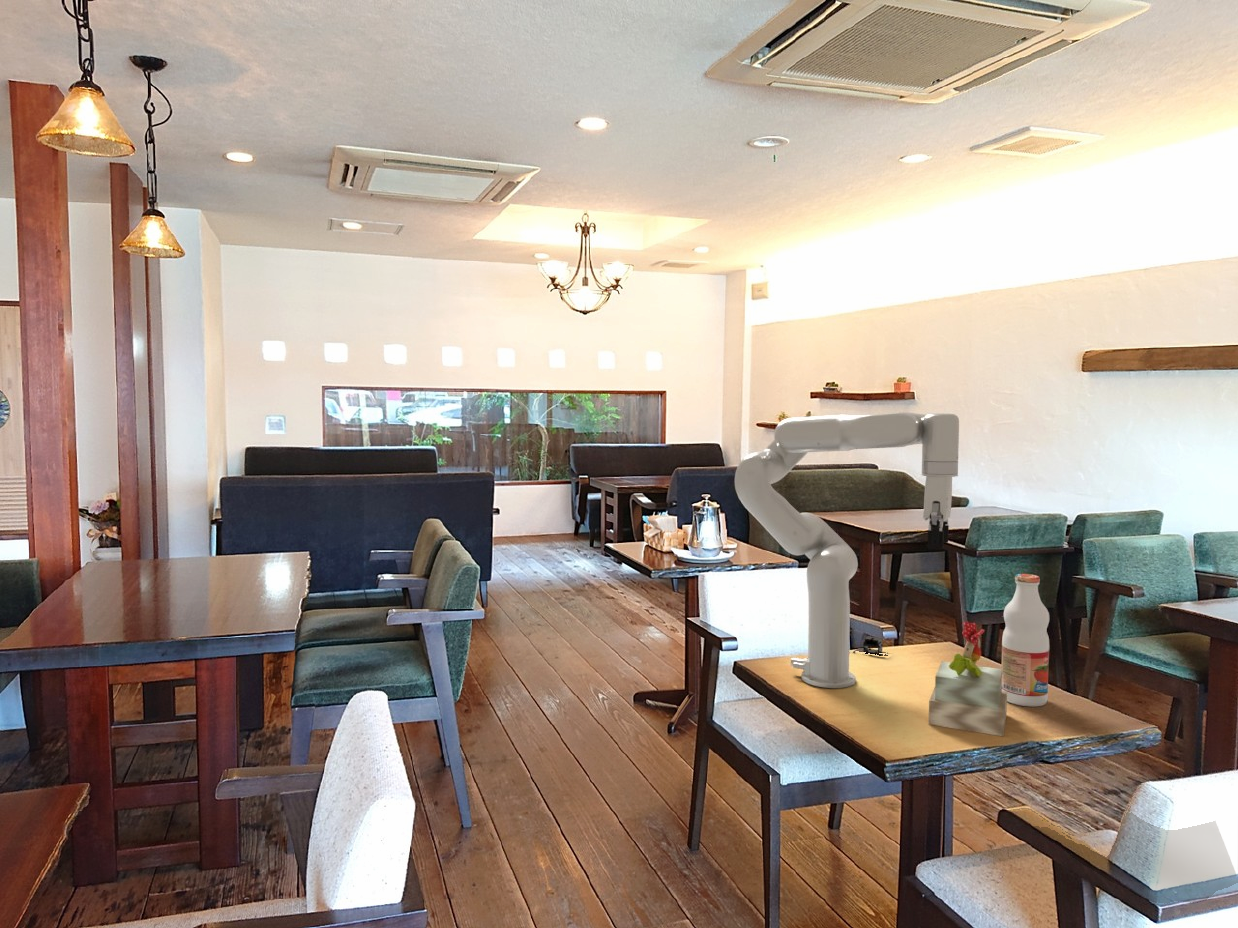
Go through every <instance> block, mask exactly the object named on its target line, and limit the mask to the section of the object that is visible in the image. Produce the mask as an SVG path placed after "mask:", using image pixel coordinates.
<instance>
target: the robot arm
mask: <svg viewBox="0 0 1238 928" xmlns="http://www.w3.org/2000/svg"><path fill="white" fill-rule="evenodd" d="M773 435H774V439H773V441H771V443H769V445H768V446H767V447H766V448H764V449H763V450H762V451H755V452H752V453H749V454H747V455H746V456H745V457H743V458H742V459H741V461H740V462H739V463H738V466H737V467H736V470H735V475H734V489H735V492H736V494H737V497H738V499H739V501H740V502H741V504H742V505H743V508H745V509H746V510H747V511H748V512H749V513H750V514H751V515H752V516H753V517H754V518H755V519H756V520H757V522H759V523H760V525H761V526H762V527H763V528H764V529H765V530H766V531H767V532H768V533H769V534H770V536H771V537H773V539H774V540H776V541H775V542H778V544H779V546H781V547H782V548H783V549H784V551H786V552H787V553H789V554H791V555H793V556H803V555H805V556H806V557H807V558H808V559H809V562H808V564H807V569H806V583H807V593H808V632H807V633H808V635H807V636H808V637H807V638H808V639H807V640H808V641H807V645H808V647H807V648H808V649H807V653H808V655H807V658H804V659H802V658H797V657H791V658H790V666H792V667H793V669H800V670H803V671H802V672H801V677H800V678H801V680H802V681H803V682H805V683H806V684H809V685H811V686H814V687H819V688H825V689H826V688H827V689H842V688H847V687H851V686H854V685H855V684H856V679H857V678H856V675H855V674H854V673H852V672H850V634H851V633H850V630H851V628H850V627H851V626H850V625H851V623H850V621H851V615H850V614H851V608H850V607H851V604H850V601H851V600H850V589H849V588H850V587H849V584H850V583H849V582H850V580H851V579H852V578H853V577H854V576H855V575H856V572H857V570H858V566H859V563H858V557H857V555H856V553H855V551H854V550H853V549H852V547H850V545H849V544H848V543H847V542H845V540H844V539H843V538H842V537H840V535H839V534H838V533H836V531H835V530H834V529H833V528H831V526H829V524H828V523H827V522H826V521H824V520H823V519H822V518H820V517H819V516H818V515H816V514H813V513H812V512H800V511H798V510H797V509H796V508H795V507H794V506H793V505H791V504H790V502H789V501H788V500H787V499H786V498H785V497H784V496H783V495H781V494H780V493H779V492H777V490H775V489H774V488H773V486H772V484H776V483H777V482H779V481H781V480H782V479H783V478H784V477H785V476H787V475H788V474H789V473H790V472H791V470H792V469H794V467H795V466H796V465H797V464H798V463H799V462H800V461H801V460H802V459H803V458H804V457H805V456H806V455H807V454H808V453H821V452H844V451H845V452H846V451H847V452H848V451H852V450H862V449H864V450H865V449H867V450H868V449H869V450H871V449H889V448H904V447H907V446H913V445H922V447H921V448H922V449H921V476H923V477H925V484H924V493H923V494H924V498H923V499H924V500H923V516H922V518H923V520H924V521H928V530H927V546H926V547H927V549H929V550H942V551H943V549H944V544H948V542H949V527H950V526H949V518H950V517H951V510H952V499H953V496H952V495H953V478H956V477H958V476H959V444H960V441H959V439H960V438H959V436H960V419H959V416H958V415H956V414H954V413H928V414H922V413H914V412H895V413H894V412H893V413H883V414H882V413H881V414H880V413H879V414H865V415H850V414H830V415H829V414H827V415H814V416H813V415H812V416H799V417H797V416H796V417H789V418H788V417H787V418H785V419H783V420H781V421H780V422H778V424H777V426H776V427H775V429H774V433H773Z"/></svg>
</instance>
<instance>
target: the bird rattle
mask: <svg viewBox="0 0 1238 928" xmlns="http://www.w3.org/2000/svg"><path fill="white" fill-rule="evenodd" d="M962 624H963V628H964V630H962V633H961V634H962V636H963V638H965V639H966V641H965V646H964V648H963V650H962V654H960V653H956V654H955V655H954V657H953V660H952V661H951V662H950V665H949V668H950V669H952V670H954V671H956V672H957V674H958V675H960V674H962V673H963V672H964V671H965V669H967V670H968V671H969V672H971V673H972V674H974V675H975V676H978V677H980V676H981V675H982V672H981V670H980V669H979V668H978V667H977V666H978V665H976V664H977V662H978V661H979V660H980V659H981V656H982V650H981V639H980V636H981V635H983V634H984V633H985V629H983V628H982V629H980V630H979V631H978V630H977V623H976V622H972V623H970V622H969V621H963V622H962ZM977 631H978V632H977Z"/></svg>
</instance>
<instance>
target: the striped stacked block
mask: <svg viewBox="0 0 1238 928" xmlns="http://www.w3.org/2000/svg"><path fill="white" fill-rule="evenodd" d="M950 663H951V662H950V661H941V662H940V664H939V667H938V669H937V672H936V674H935V676H934V677H935V679H934V680H935V684H934V688H933V690H932V693H931V695H930V697H929V700H928V725H930V726H931V725H932V726H935V727H943V728H950V729H956V730H960V731H969V732H974V733H979V734H980V733H981V734H985V735H987V734H988V735H993V736H1001V737H1004V736H1005V735H1004V733H1005V728H1006V721H1007V720H1006V719H1007V706H1008V705H1007V704H1008V702H1007V692H1006V691H1002V669H1001V668H996V667H988V666H980V665H976V666H977V667H978V668H979V669H980V670H981V672H982V675H981V676H980V677H978V676H975V675H974V674H972V673H971V672H969V671H968V670H967V669H965V671H964V672H963V673H962V674H960V675H958V674H957V672H956V671H954V670H952V669H950V668H949V665H950Z"/></svg>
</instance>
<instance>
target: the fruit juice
mask: <svg viewBox="0 0 1238 928" xmlns="http://www.w3.org/2000/svg"><path fill="white" fill-rule="evenodd" d="M1014 582H1015V584H1016V587H1015V591H1014V594H1013V597H1012V599H1011V600H1010V601H1009V602H1008V603H1007V604H1006V605H1005V607H1004V610H1003V620H1004V623H1005V627H1004V629H1003V632H1002V640H1001V668H1000V669H1002V691H1006V692H1007V703H1010V704H1013V705H1017V706H1022V707H1036V708H1037V707H1042V706H1045V705H1047V702H1048V695H1049V689H1048V688H1049V687H1048V686H1049V666H1050V665H1049V664H1050V663H1049V659H1050V639H1049V635H1048V632H1047V628H1048V627H1049V622H1050V612H1049V611H1048V608H1047V607H1046V606H1045V604H1044V603H1043V602H1042V600H1041V597H1040V593H1039V585H1040V582H1041V578H1040V576H1038V575H1036V574H1030V573H1029V574H1028V573H1017V574H1015V576H1014Z"/></svg>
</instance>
